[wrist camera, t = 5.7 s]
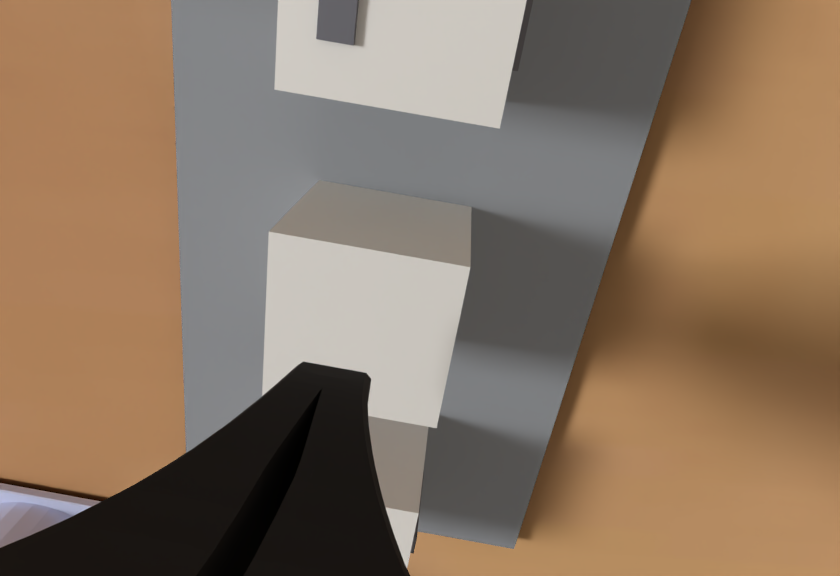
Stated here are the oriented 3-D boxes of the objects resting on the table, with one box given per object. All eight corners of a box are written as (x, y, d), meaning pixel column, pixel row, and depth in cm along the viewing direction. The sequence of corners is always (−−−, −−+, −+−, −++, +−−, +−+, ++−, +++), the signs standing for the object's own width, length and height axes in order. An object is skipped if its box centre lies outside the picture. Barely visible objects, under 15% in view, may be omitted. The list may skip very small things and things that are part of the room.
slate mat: (512, 536, 23) (513, 548, 22) (194, 477, 23) (187, 488, 22) (723, -128, 13) (734, -134, 13) (176, -219, 13) (163, -230, 13)
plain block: (444, 338, 18) (436, 428, 14) (308, 314, 18) (262, 396, 14) (471, 206, 16) (470, 267, 12) (319, 179, 17) (269, 231, 12)
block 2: (415, 506, 22) (401, 623, 17) (295, 484, 22) (252, 596, 18) (434, 413, 20) (423, 518, 16) (303, 389, 20) (256, 488, 16)
